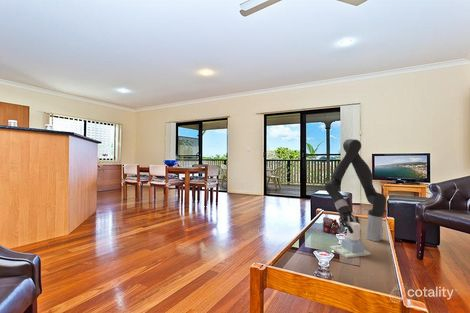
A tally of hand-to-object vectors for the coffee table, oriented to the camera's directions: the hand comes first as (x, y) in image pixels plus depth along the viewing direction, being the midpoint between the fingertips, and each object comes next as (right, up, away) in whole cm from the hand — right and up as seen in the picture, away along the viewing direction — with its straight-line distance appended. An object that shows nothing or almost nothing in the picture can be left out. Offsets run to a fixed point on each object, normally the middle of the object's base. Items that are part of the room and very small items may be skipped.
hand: (355, 232), depth 151 cm
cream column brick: (-1, -4, +2) cm, 5 cm away
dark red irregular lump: (-2, -11, +35) cm, 37 cm away
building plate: (-3, -12, +2) cm, 12 cm away
